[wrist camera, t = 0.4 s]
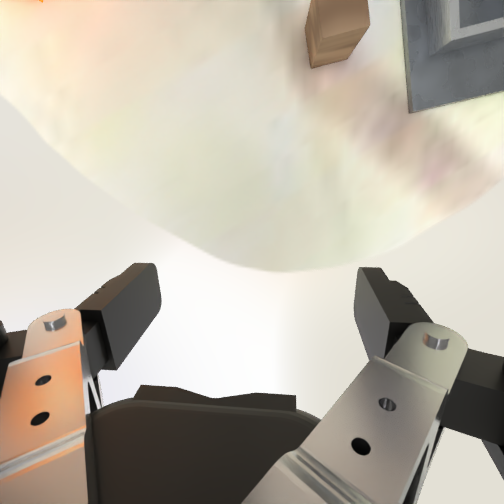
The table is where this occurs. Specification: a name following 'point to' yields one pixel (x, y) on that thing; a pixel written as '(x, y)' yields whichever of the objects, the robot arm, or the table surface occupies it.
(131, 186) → the table surface
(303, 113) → the table surface
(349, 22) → the brown rectangular block
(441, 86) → the grey socket base
